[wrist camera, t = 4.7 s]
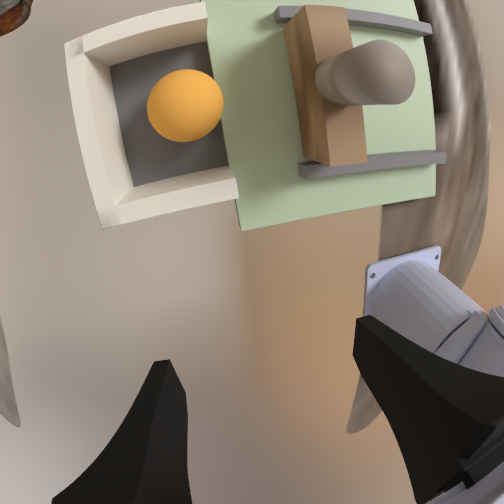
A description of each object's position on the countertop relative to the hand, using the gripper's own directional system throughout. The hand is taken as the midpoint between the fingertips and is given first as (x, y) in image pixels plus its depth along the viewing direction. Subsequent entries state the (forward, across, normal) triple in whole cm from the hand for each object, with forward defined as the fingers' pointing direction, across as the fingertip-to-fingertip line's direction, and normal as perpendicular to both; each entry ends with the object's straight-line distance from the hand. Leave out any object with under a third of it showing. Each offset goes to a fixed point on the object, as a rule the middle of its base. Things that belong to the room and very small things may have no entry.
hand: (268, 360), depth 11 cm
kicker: (+9, -6, -10) cm, 14 cm away
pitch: (+10, -4, -10) cm, 15 cm away
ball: (+8, +2, -10) cm, 13 cm away
